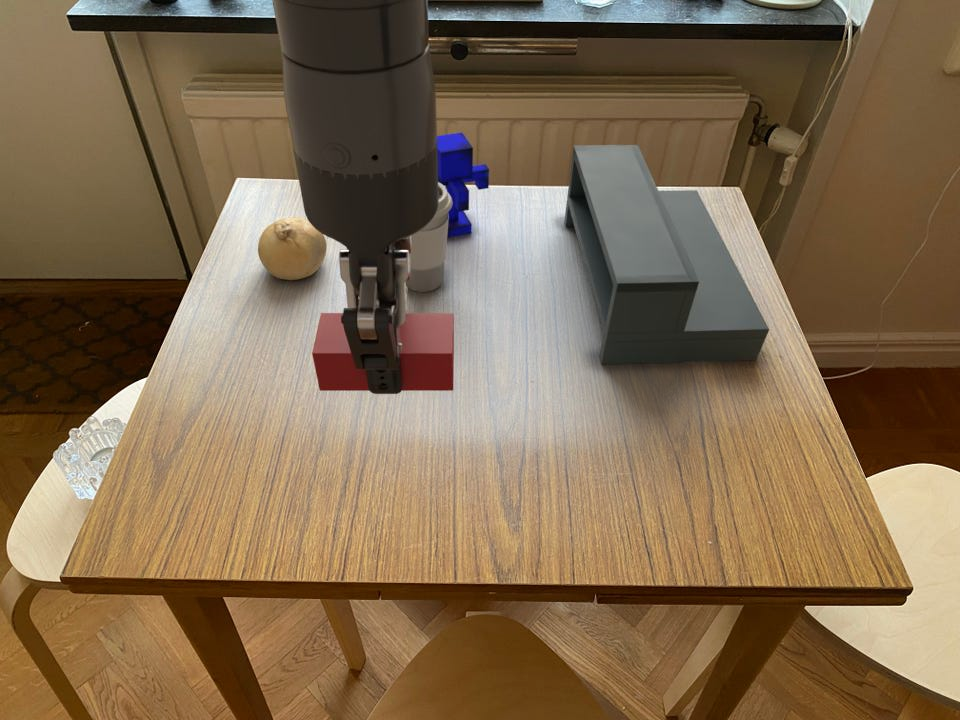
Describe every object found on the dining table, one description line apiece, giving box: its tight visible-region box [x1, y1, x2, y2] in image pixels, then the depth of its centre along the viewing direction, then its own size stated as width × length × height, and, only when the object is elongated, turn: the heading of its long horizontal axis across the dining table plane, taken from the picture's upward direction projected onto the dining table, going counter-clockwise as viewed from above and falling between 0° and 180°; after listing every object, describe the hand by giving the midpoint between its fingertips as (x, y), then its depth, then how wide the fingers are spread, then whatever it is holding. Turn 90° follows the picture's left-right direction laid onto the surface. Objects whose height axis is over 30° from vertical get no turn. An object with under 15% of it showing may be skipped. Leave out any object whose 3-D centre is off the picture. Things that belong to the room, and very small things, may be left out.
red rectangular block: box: [311, 312, 455, 392], centre depth 48 cm, size 9×4×4 cm, turn 91°
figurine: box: [437, 132, 490, 238], centre depth 89 cm, size 8×8×12 cm
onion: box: [257, 217, 328, 281], centre depth 83 cm, size 8×8×7 cm
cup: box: [406, 182, 453, 293], centre depth 81 cm, size 7×7×12 cm
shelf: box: [564, 144, 770, 365], centre depth 81 cm, size 27×17×11 cm, turn 4°
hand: (388, 364), depth 49 cm, fingers closed on red rectangular block, 4 cm apart
